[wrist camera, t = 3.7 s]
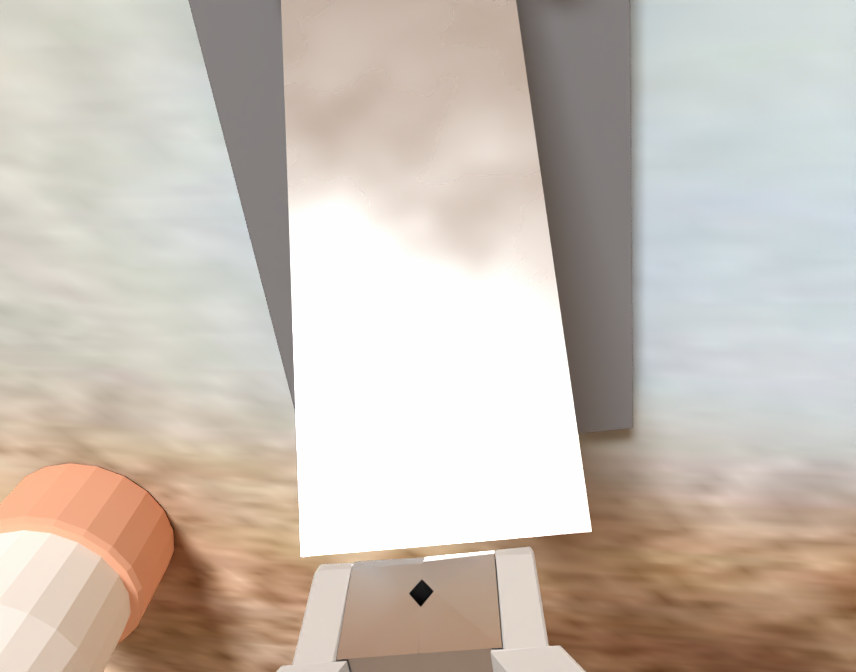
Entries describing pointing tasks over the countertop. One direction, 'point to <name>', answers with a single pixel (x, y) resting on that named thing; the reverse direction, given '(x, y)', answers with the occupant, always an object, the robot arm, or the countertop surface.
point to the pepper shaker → (76, 567)
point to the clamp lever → (422, 282)
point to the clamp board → (558, 158)
